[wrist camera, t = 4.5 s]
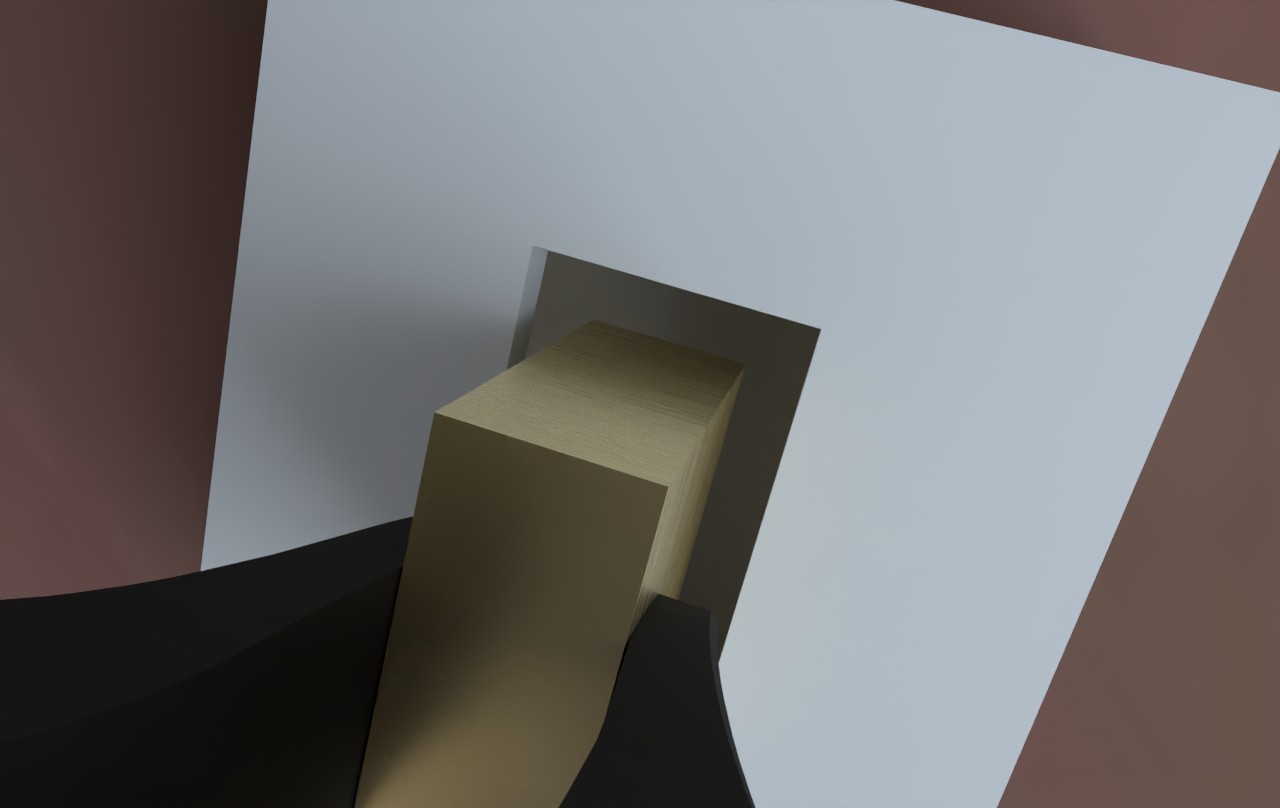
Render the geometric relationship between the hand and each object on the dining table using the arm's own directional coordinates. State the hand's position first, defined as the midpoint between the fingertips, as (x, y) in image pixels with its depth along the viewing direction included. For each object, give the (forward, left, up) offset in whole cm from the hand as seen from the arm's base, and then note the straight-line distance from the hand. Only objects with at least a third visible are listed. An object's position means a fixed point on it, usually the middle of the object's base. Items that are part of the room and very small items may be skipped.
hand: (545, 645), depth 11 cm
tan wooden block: (0, 0, -3) cm, 3 cm away
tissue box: (0, 0, -9) cm, 9 cm away
